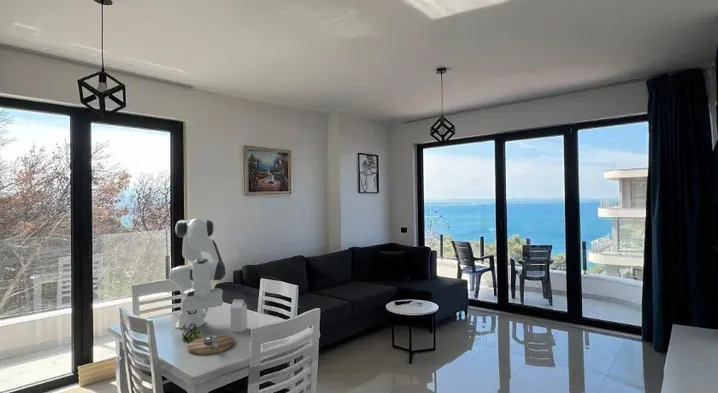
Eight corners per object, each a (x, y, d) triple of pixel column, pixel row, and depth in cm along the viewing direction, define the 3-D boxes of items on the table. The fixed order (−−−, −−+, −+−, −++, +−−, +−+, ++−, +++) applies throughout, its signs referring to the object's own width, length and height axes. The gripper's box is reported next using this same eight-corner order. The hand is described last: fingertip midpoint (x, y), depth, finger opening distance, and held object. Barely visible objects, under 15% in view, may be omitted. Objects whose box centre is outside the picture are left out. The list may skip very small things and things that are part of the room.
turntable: (184, 344, 224) (184, 329, 224) (228, 335, 236) (228, 322, 236) (191, 358, 204) (191, 342, 203) (239, 348, 216) (239, 333, 216)
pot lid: (202, 342, 221) (202, 336, 221) (216, 339, 224) (215, 334, 224) (205, 346, 215) (205, 340, 215) (218, 343, 219) (218, 337, 218)
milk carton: (241, 332, 242) (241, 301, 242) (230, 332, 244) (230, 300, 244) (247, 328, 249) (246, 298, 249) (236, 328, 251) (236, 297, 251)
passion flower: (184, 349, 233) (181, 329, 238) (204, 342, 237) (200, 323, 243) (182, 343, 224) (178, 323, 229) (202, 336, 228) (198, 317, 234)
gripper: (221, 286, 217) (221, 312, 217) (180, 292, 207) (180, 319, 207) (223, 288, 212) (224, 314, 212) (181, 294, 201) (182, 322, 201)
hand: (202, 317), depth 209 cm, fingers closed
